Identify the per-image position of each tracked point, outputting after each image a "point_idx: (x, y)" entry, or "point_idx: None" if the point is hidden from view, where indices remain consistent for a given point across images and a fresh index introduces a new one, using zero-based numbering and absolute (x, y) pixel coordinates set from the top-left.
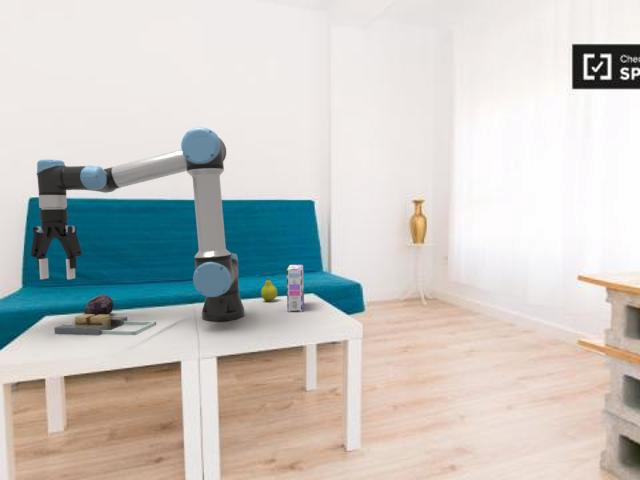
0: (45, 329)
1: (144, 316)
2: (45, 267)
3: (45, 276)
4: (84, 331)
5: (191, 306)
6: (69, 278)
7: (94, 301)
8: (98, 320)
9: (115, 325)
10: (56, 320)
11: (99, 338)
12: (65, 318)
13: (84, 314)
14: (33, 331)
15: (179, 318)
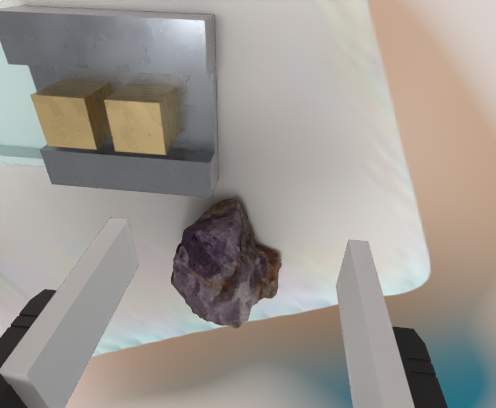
0: (350, 141)
1: None
2: (354, 347)
3: (343, 276)
4: (63, 12)
5: None
6: (107, 223)
7: (225, 279)
8: (53, 92)
9: None
10: (382, 242)
11: None
12: None
13: (156, 148)
14: (383, 115)
15: (8, 247)
